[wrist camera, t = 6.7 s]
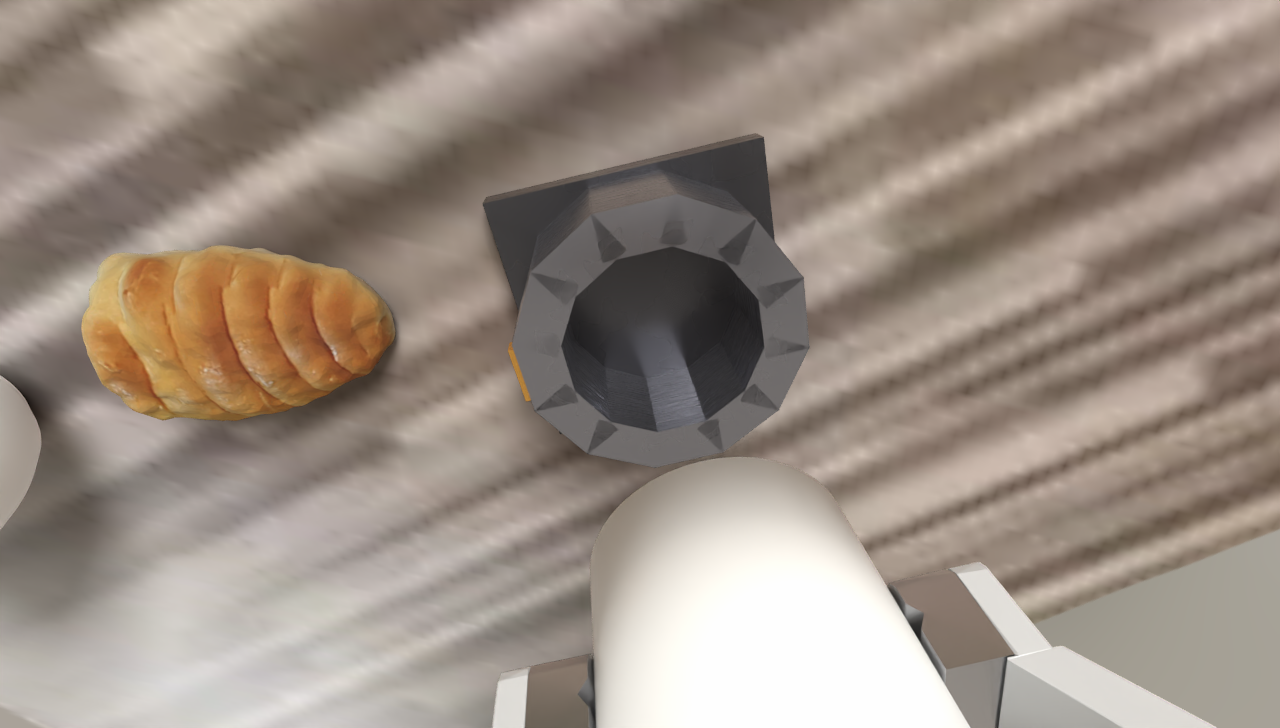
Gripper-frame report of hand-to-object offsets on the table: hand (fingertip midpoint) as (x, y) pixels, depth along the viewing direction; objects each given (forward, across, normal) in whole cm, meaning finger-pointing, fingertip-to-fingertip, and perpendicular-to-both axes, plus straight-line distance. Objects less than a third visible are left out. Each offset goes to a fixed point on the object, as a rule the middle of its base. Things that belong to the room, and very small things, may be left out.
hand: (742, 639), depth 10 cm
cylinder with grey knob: (+2, 0, 0) cm, 2 cm away
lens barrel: (+16, 0, 0) cm, 16 cm away
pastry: (+16, +15, -3) cm, 22 cm away
